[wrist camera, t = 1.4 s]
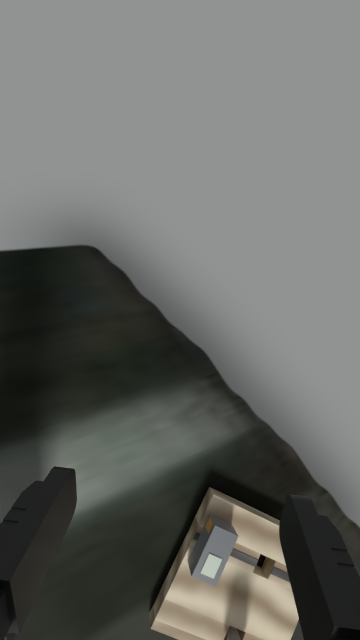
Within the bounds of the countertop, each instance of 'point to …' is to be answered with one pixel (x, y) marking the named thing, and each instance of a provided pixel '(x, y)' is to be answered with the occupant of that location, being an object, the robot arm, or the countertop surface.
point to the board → (230, 582)
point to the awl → (232, 634)
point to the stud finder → (212, 550)
